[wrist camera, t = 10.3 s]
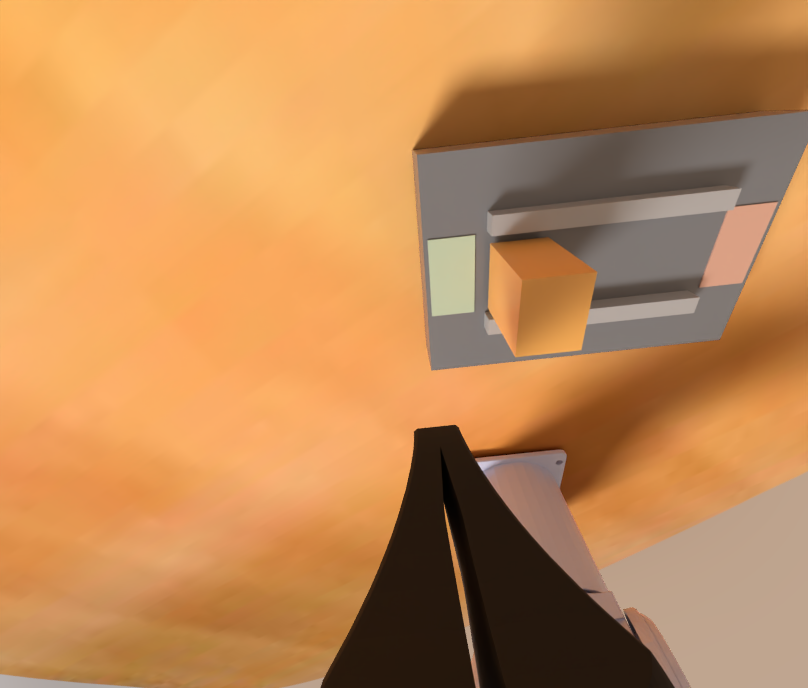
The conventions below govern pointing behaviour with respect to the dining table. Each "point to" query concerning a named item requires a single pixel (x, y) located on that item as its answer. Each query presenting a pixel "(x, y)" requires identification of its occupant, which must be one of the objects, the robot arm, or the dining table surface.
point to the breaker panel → (605, 225)
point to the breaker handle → (539, 296)
